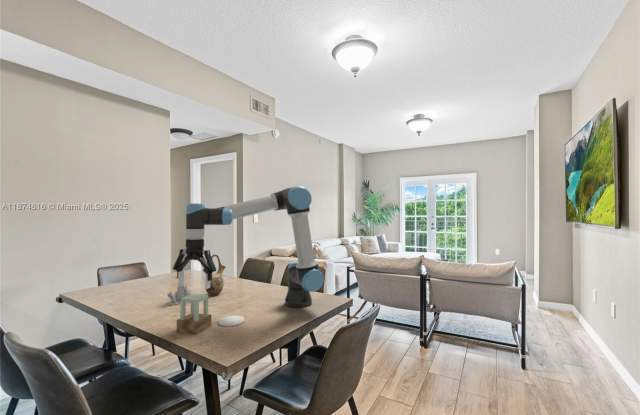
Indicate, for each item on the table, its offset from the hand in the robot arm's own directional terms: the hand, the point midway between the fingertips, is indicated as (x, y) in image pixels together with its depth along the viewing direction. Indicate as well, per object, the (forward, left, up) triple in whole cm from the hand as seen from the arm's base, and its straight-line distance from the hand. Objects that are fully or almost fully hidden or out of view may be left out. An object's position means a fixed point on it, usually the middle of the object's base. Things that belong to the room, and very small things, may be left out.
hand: (194, 287), depth 134 cm
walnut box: (0, 0, -18) cm, 18 cm away
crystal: (+34, -31, -19) cm, 50 cm away
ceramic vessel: (+24, -51, -18) cm, 59 cm away
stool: (0, 0, -13) cm, 13 cm away
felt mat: (-11, -12, -18) cm, 25 cm away
